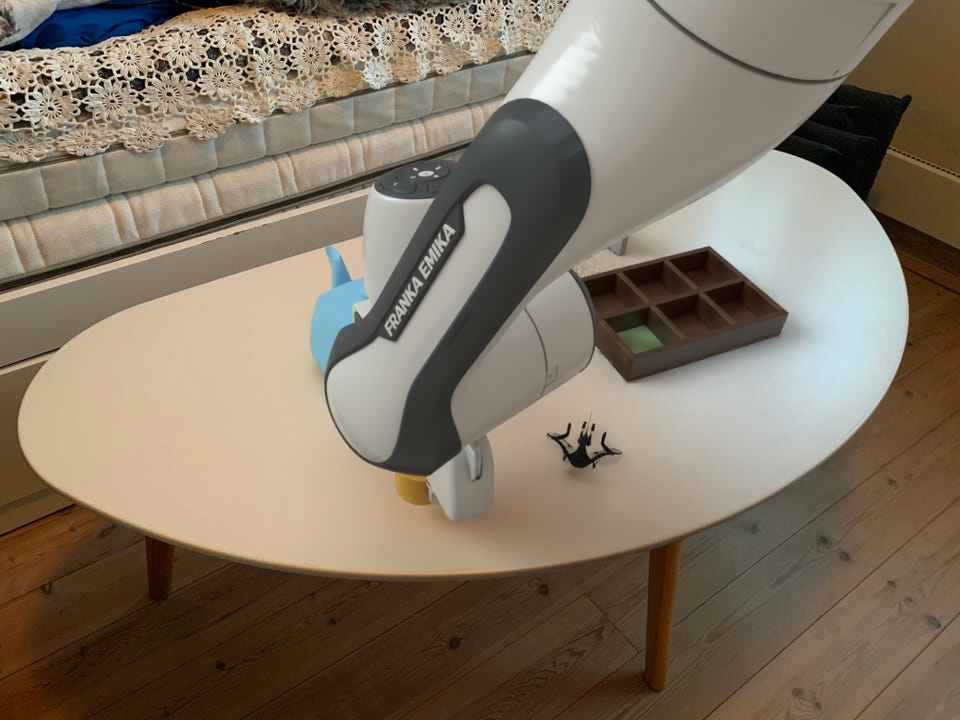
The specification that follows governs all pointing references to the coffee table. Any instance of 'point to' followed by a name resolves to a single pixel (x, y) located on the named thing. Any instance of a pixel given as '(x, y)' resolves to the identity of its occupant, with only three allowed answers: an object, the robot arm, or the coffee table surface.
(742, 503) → the coffee table surface
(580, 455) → the creature
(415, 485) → the cylinder
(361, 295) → the teapot
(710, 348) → the grid
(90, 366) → the coffee table surface
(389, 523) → the coffee table surface
